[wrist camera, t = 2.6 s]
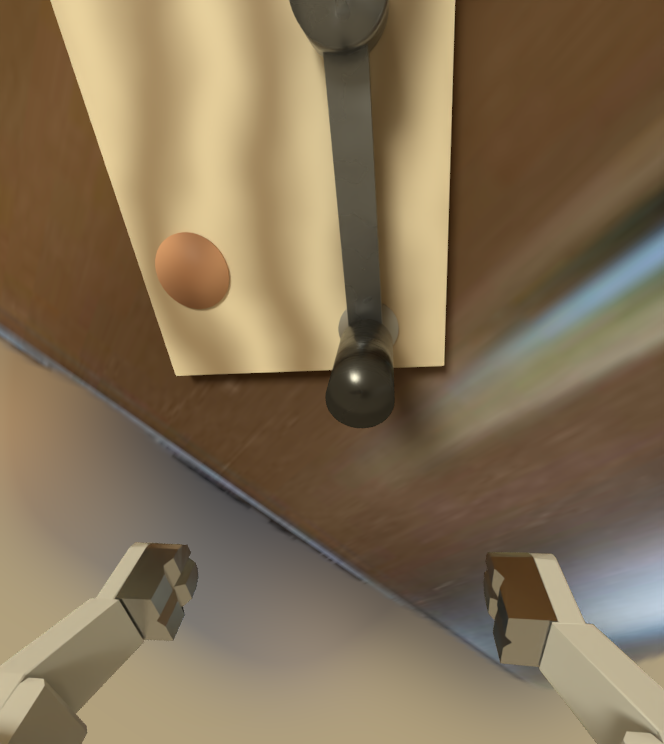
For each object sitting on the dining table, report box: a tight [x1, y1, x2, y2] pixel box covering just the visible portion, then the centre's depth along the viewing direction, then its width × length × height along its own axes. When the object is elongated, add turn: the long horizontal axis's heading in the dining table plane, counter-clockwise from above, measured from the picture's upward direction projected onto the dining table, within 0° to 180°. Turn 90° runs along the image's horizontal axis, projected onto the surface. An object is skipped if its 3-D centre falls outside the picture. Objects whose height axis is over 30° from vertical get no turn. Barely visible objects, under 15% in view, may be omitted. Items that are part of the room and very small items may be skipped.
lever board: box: [51, 0, 455, 376], centre depth 23 cm, size 20×22×2 cm
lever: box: [289, 0, 395, 428], centre depth 17 cm, size 4×20×8 cm, turn 6°
